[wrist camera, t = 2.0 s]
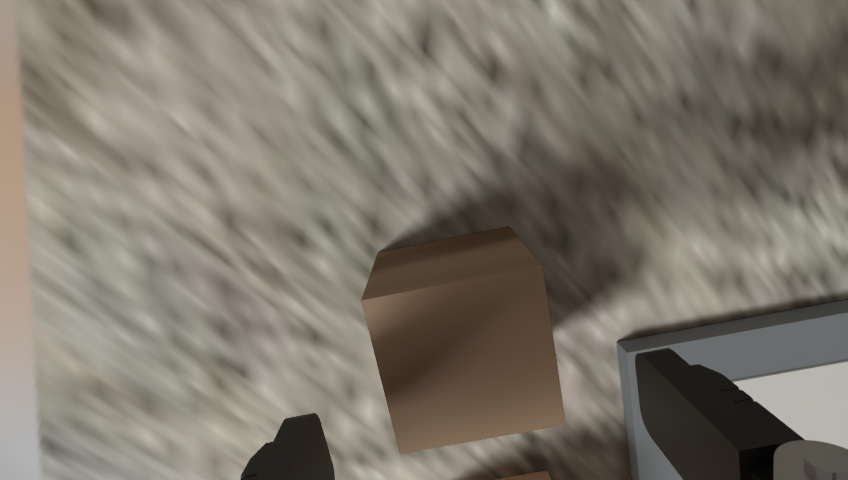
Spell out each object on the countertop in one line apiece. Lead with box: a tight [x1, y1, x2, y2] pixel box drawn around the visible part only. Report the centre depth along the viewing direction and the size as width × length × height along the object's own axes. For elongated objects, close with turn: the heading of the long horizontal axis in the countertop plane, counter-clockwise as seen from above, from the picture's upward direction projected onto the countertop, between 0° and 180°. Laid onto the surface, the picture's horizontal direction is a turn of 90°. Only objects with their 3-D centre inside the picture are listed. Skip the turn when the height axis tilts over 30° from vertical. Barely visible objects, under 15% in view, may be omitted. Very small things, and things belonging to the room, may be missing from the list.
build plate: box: [617, 300, 848, 480], centre depth 19 cm, size 12×12×1 cm
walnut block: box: [361, 226, 566, 454], centre depth 15 cm, size 5×5×5 cm
